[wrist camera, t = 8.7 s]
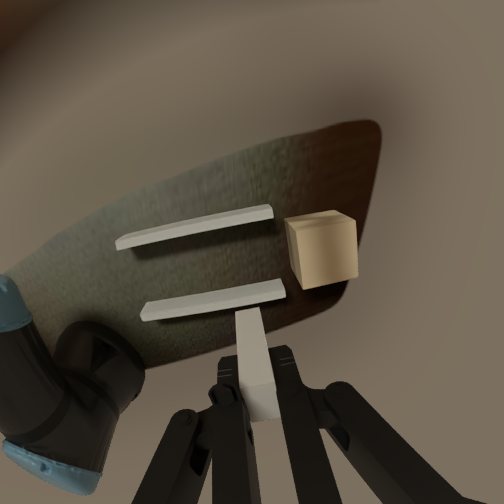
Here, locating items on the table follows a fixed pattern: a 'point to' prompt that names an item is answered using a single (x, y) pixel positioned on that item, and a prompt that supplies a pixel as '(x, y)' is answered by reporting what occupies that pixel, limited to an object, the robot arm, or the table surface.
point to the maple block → (322, 248)
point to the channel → (214, 298)
